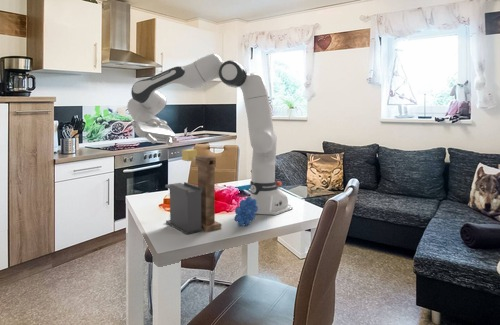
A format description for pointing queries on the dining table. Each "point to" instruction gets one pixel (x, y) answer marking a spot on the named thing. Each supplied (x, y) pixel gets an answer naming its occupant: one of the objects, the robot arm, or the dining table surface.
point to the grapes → (246, 211)
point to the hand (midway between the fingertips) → (163, 143)
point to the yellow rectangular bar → (189, 155)
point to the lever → (244, 188)
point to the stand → (207, 192)
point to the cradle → (185, 207)
